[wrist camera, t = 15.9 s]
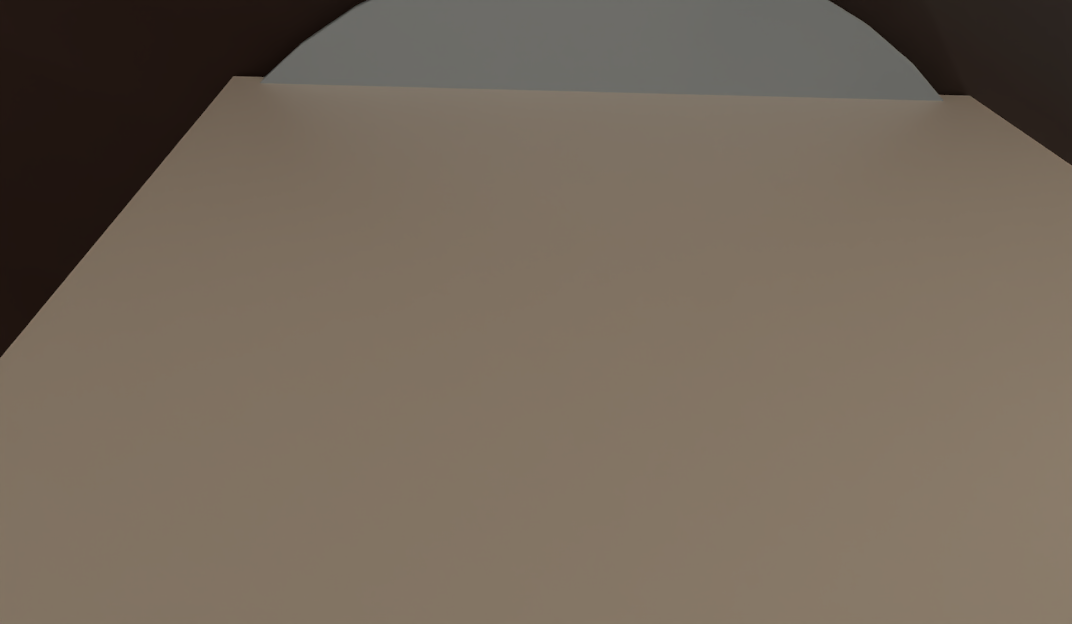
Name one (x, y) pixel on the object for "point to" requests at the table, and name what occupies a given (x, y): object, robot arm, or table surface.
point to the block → (555, 369)
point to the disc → (608, 48)
